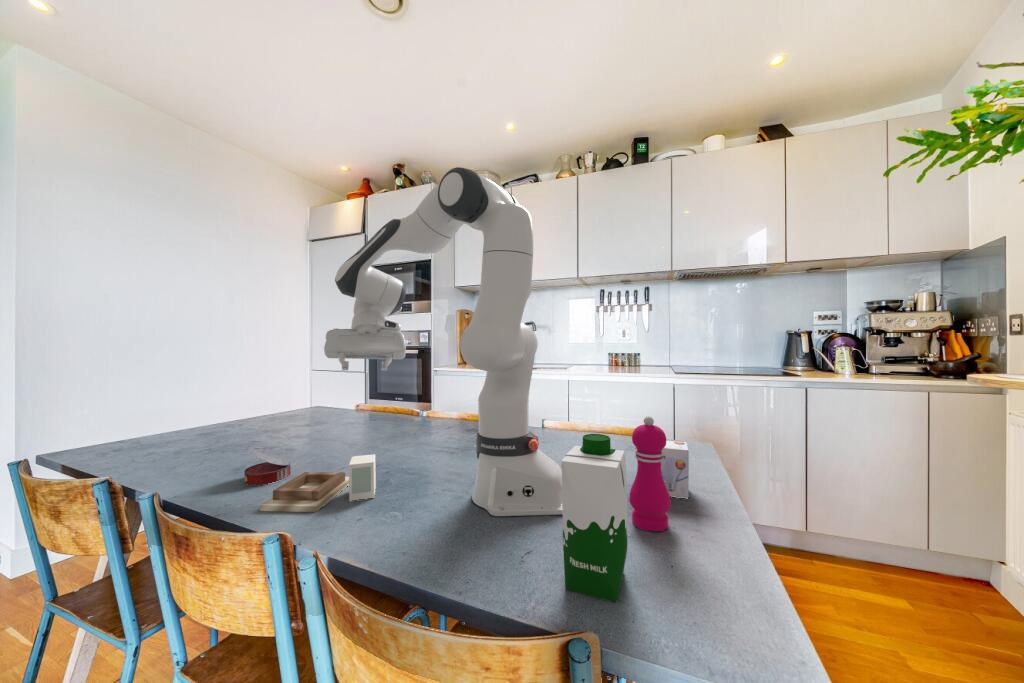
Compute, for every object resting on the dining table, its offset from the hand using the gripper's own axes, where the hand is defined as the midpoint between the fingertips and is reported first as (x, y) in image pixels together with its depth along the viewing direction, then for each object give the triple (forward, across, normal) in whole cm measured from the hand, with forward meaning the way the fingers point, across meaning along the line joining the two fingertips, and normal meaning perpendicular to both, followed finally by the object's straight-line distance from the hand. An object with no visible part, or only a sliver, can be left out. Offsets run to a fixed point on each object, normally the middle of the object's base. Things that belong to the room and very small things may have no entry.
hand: (364, 369), depth 95 cm
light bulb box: (+41, +66, -8) cm, 78 cm away
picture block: (+28, +1, +10) cm, 30 cm away
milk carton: (+57, +35, -23) cm, 71 cm away
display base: (+26, -10, +13) cm, 31 cm away
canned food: (+16, -22, +25) cm, 37 cm away
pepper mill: (+49, +53, -16) cm, 74 cm away
